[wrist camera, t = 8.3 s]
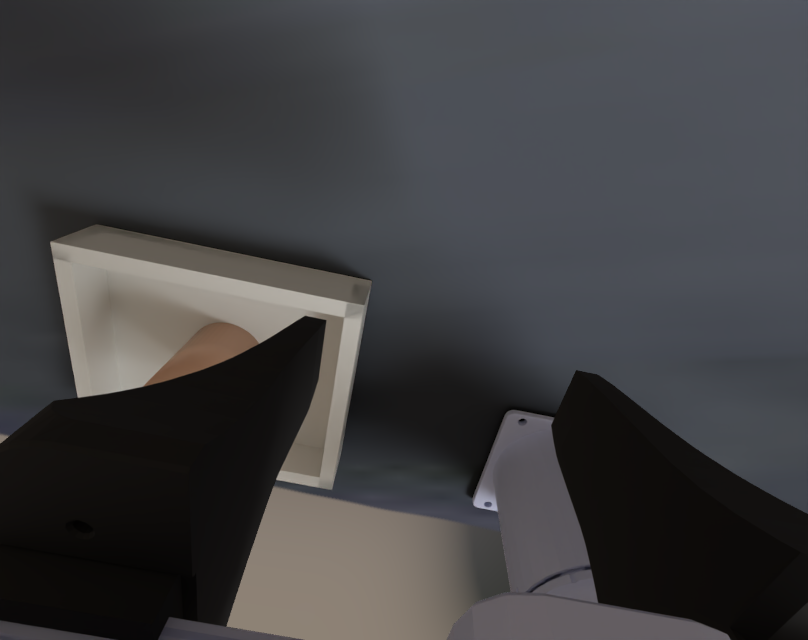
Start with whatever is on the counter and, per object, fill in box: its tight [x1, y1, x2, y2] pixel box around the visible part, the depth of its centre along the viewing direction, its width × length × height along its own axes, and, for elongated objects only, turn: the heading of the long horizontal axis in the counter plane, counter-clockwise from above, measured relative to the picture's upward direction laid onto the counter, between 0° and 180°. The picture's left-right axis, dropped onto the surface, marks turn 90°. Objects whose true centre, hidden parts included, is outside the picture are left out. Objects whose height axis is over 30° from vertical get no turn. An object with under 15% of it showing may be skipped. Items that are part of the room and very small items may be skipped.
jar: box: [144, 322, 259, 386], centre depth 21 cm, size 4×4×7 cm
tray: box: [50, 224, 372, 490], centre depth 24 cm, size 14×12×3 cm
